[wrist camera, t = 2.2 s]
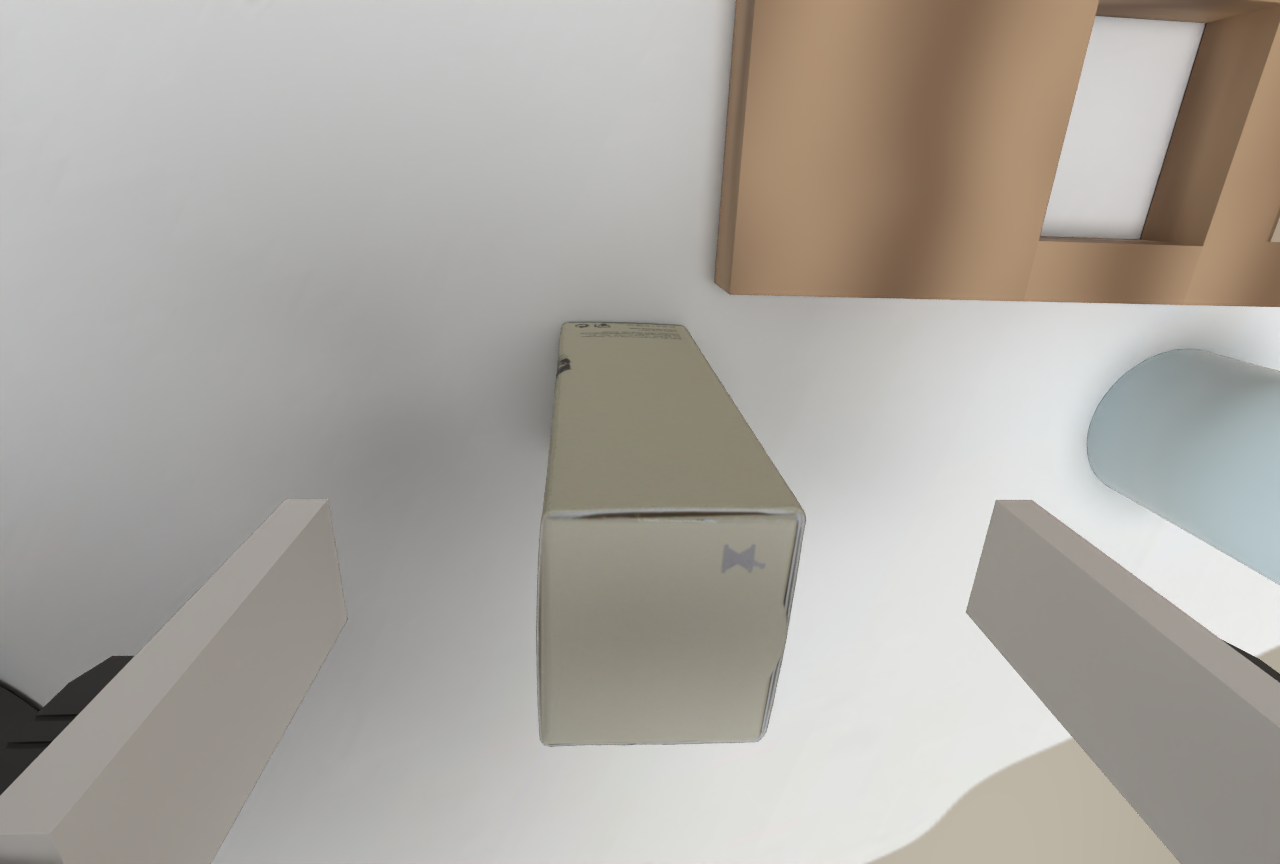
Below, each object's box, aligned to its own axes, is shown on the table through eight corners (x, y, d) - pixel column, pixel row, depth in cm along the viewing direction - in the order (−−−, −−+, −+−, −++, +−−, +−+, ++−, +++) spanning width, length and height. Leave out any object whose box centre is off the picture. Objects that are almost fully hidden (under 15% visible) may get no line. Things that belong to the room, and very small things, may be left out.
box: (559, 318, 21) (530, 492, 9) (689, 323, 22) (818, 498, 10) (557, 462, 23) (530, 760, 11) (677, 465, 24) (772, 755, 12)
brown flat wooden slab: (714, 282, 21) (730, 295, 19) (742, -85, 18) (766, -125, 15) (1260, 295, 23) (1335, 308, 21) (1387, -36, 20) (1496, -65, 17)
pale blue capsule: (1068, 495, 26) (1234, 600, 19) (1113, 347, 24) (1316, 410, 17) (1206, 493, 26) (1413, 595, 20) (1262, 349, 24) (1514, 411, 18)
